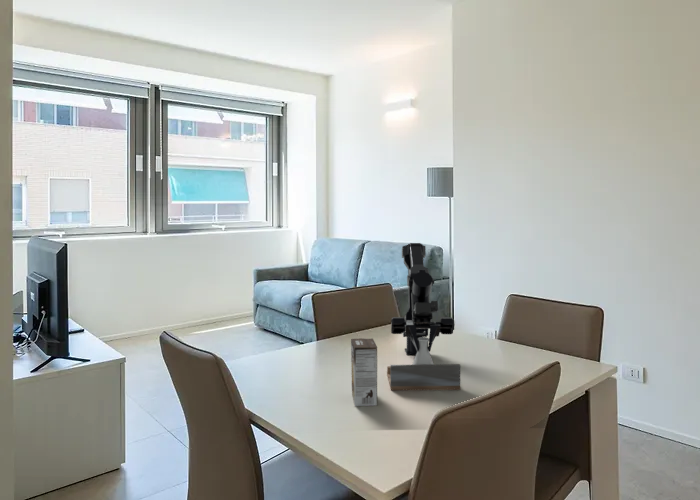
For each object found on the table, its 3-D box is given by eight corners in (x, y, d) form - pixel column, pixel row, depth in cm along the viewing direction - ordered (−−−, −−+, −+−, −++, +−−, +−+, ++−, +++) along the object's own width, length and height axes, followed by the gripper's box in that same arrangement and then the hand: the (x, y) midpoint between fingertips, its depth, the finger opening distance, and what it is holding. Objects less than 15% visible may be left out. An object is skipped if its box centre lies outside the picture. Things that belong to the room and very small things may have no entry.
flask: (424, 377, 150) (424, 344, 149) (405, 370, 156) (406, 338, 154) (440, 371, 155) (441, 338, 154) (421, 364, 160) (422, 333, 159)
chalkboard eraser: (386, 374, 164) (386, 352, 164) (450, 373, 165) (450, 351, 164) (390, 390, 151) (390, 366, 150) (460, 389, 151) (460, 365, 150)
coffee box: (350, 394, 148) (350, 338, 146) (373, 393, 148) (373, 337, 147) (353, 406, 139) (353, 347, 137) (377, 405, 139) (377, 346, 138)
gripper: (391, 291, 157) (392, 336, 147) (454, 291, 156) (459, 337, 146) (390, 311, 166) (391, 355, 156) (450, 311, 165) (454, 356, 155)
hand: (423, 350), depth 153 cm, fingers closed on flask, 3 cm apart
